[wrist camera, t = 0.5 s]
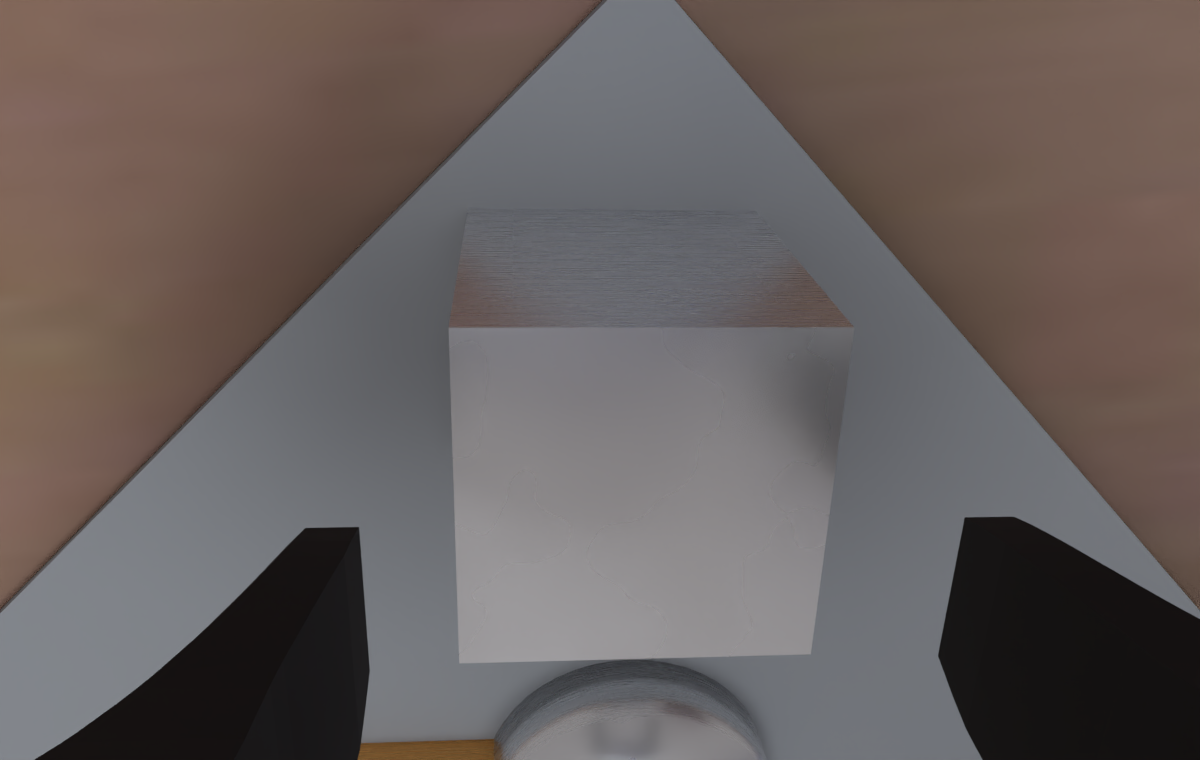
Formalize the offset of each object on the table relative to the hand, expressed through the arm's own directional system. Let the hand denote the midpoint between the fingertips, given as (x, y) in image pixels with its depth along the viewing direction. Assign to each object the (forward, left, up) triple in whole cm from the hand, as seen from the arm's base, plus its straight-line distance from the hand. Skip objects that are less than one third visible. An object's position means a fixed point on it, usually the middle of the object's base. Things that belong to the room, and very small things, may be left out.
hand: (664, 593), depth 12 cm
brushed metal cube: (0, 0, -8) cm, 8 cm away
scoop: (-5, +10, -8) cm, 14 cm away
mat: (-5, +6, -9) cm, 12 cm away
